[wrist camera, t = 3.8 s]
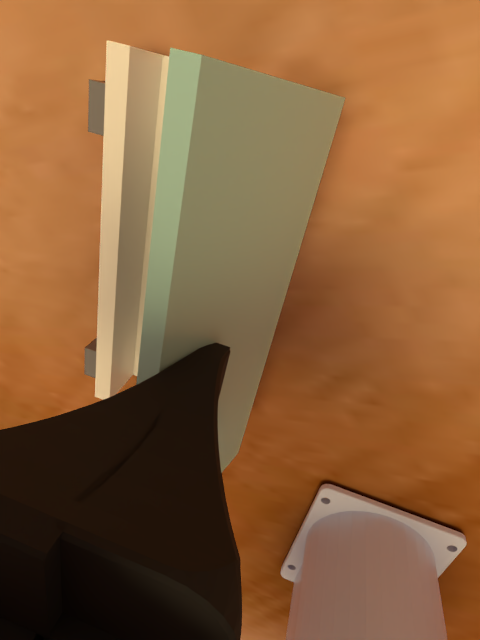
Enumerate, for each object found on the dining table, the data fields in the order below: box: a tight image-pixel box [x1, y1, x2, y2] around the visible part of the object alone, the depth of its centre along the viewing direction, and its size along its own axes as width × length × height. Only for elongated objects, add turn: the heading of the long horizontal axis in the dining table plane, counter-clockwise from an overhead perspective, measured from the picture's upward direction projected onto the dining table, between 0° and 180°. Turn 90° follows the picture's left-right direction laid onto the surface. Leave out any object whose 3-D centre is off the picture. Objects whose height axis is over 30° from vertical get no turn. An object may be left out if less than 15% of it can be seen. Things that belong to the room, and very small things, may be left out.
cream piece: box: [85, 40, 169, 400], centre depth 17 cm, size 15×8×3 cm, turn 167°
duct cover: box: [136, 48, 345, 473], centre depth 13 cm, size 15×7×1 cm
